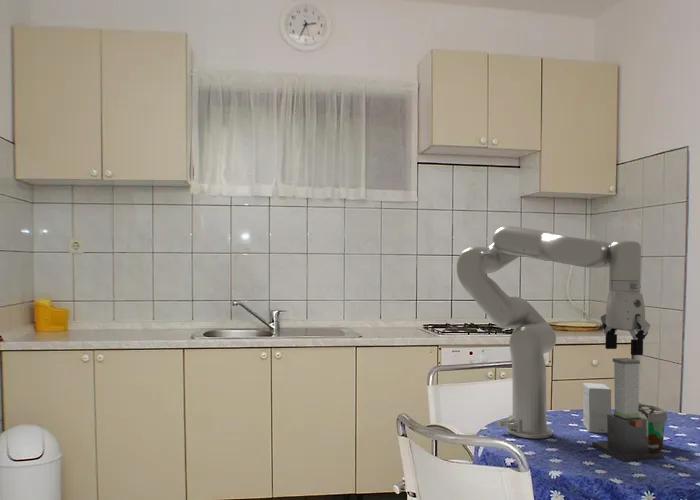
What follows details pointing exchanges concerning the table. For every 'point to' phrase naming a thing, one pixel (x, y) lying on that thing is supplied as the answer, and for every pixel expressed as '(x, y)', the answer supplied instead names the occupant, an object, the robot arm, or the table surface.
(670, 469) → the table surface
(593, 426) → the small box
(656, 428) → the food container
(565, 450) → the table surface
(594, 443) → the stand
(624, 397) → the column
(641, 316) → the robot arm
